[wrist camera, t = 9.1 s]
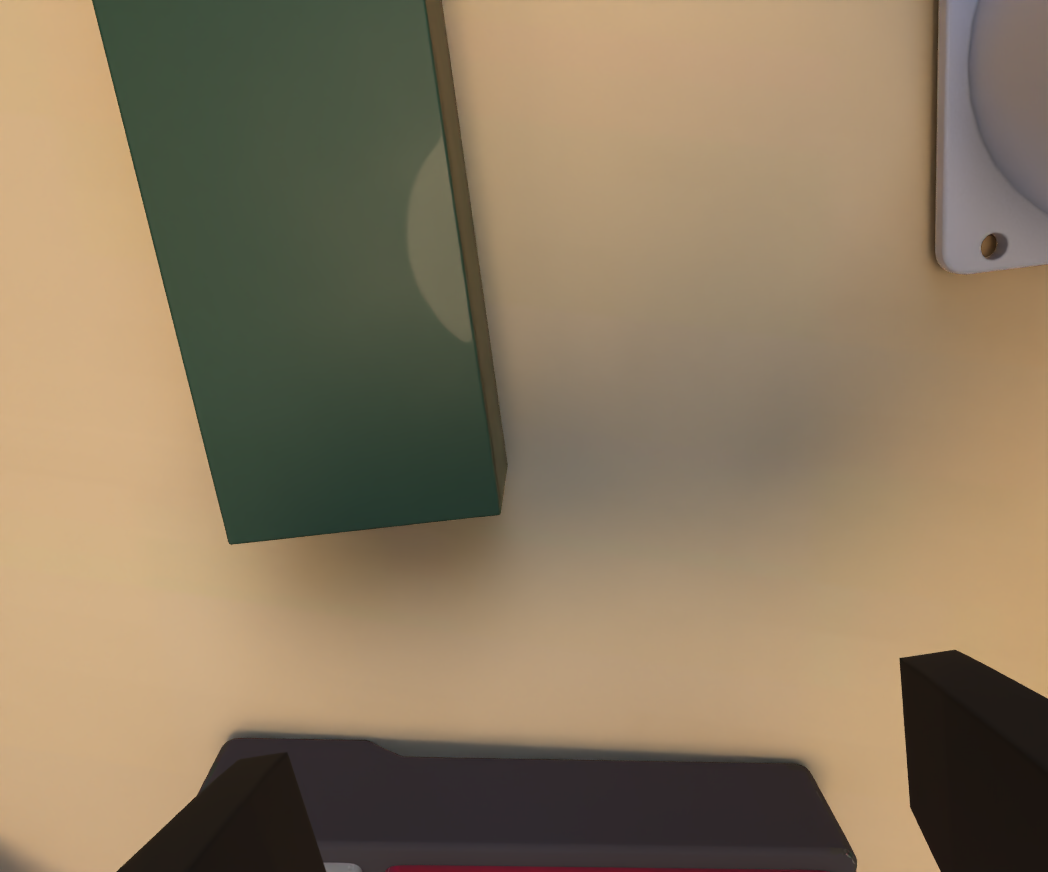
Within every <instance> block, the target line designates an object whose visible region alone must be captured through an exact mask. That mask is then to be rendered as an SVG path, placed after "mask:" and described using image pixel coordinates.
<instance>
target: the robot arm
mask: <svg viewBox="0 0 1048 872" xmlns="http://www.w3.org/2000/svg"><path fill="white" fill-rule="evenodd" d="M990 234H993V235H994V236H995V237H996V241H997V246H996V249H995V251H994V252H993V253H992V254H991V255H990V256H989V257H986V258H985V257H984V256H983V255H982V252H981V244H982V241H983V240H984V239H985V238H986V237H987V235H990ZM935 254H936V259H937V262H938V263H939V265H940V266H941V267H942V268H943V269H944V270H946V271H948V272H950V273H956V274H974V273H982V272H990V271H998V270H1006V269H1014V268H1022V267H1030V266H1038V265H1046V264H1048V0H939V16H938V84H937V152H936V221H935ZM900 671H901V685H902V699H903V713H904V726H905V740H906V754H907V768H908V782H909V796H910V808H911V810H912V812H913V814H914V816H915V818H916V820H917V823H918V825H919V827H920V829H921V831H922V833H923V835H924V837H925V840H926V842H927V844H928V846H929V848H930V850H931V852H932V854H933V856H934V859H935V861H936V863H937V865H938V867H939V869H940V871H941V872H1048V699H1047V698H1045V697H1044V696H1042V695H1040V694H1038V693H1036V692H1034V691H1033V690H1031V689H1029V688H1027V687H1025V686H1023V685H1022V684H1020V683H1018V682H1016V681H1014V680H1012V679H1010V678H1009V677H1007V676H1005V675H1003V674H1001V673H999V672H998V671H996V670H994V669H992V668H990V667H988V666H986V665H984V664H983V663H981V662H979V661H977V660H975V659H973V658H971V657H969V656H967V655H965V654H963V653H961V652H959V651H957V650H950V651H944V652H937V653H931V654H924V655H918V656H911V657H905V658H900ZM117 872H326V869H325V866H324V863H323V860H322V857H321V854H320V851H319V848H318V845H317V841H316V838H315V835H314V832H313V829H312V826H311V823H310V820H309V817H308V814H307V811H306V808H305V805H304V801H303V798H302V795H301V792H300V789H299V786H298V783H297V780H296V777H295V774H294V771H293V768H292V765H291V761H290V758H289V755H288V752H283V753H276V754H270V755H263V756H256V757H250V758H243V759H239V760H237V761H236V762H235V763H234V764H233V765H231V766H230V767H229V768H228V769H226V770H225V771H224V772H223V773H222V774H221V775H219V776H218V777H217V778H216V779H215V780H214V781H213V782H212V783H211V784H209V785H208V786H207V787H206V788H205V789H204V790H203V791H202V792H201V793H200V794H199V795H197V796H196V797H195V798H194V799H193V800H192V801H191V802H190V803H189V804H188V805H187V806H186V807H185V808H184V809H182V810H181V811H180V812H179V813H178V814H177V815H176V816H175V817H174V818H173V819H172V820H171V821H170V822H169V823H168V824H167V825H166V826H165V827H163V828H162V829H161V830H160V831H159V832H158V833H157V834H156V835H155V836H154V837H153V838H152V839H151V840H150V841H149V842H148V843H147V844H145V845H144V846H143V847H142V848H141V849H140V850H139V851H138V852H137V853H136V854H135V855H134V856H133V857H132V858H131V859H129V860H128V861H127V862H126V863H125V864H124V865H123V866H122V867H121V868H120V869H119V870H118V871H117Z"/></svg>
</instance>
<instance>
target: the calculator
mask: <svg viewBox="0 0 1048 872" xmlns="http://www.w3.org/2000/svg"><path fill="white" fill-rule="evenodd" d="M283 752H288V755H289V758H290V761H291V765H292V768H293V771H294V774H295V777H296V780H297V783H298V786H299V789H300V792H301V795H302V798H303V801H304V805H305V808H306V811H307V814H308V817H309V820H310V823H311V826H312V829H313V832H314V835H315V838H316V841H317V845H318V848H319V851H320V854H321V857H322V860H323V863H324V866H325V869H326V872H856V868H857V859H856V856H855V854H854V852H853V850H852V848H851V846H850V844H849V842H848V841H847V839H846V837H845V835H844V833H843V831H842V829H841V827H840V826H839V824H838V822H837V820H836V818H835V816H834V815H833V813H832V811H831V809H830V807H829V805H828V804H827V802H826V800H825V798H824V796H823V794H822V793H821V791H820V789H819V787H818V785H817V783H816V782H815V780H814V778H813V776H812V775H811V773H810V771H809V770H808V769H807V768H806V767H804V766H802V765H798V764H779V763H722V762H665V761H608V760H551V759H495V758H439V757H403V756H400V755H397V754H395V753H393V752H391V751H389V750H386V749H384V748H382V747H380V746H378V745H376V744H374V743H372V742H370V741H366V740H318V739H264V738H238V739H232V740H230V741H228V742H226V743H225V744H224V745H223V747H222V748H221V750H220V752H219V754H218V756H217V758H216V760H215V762H214V763H213V765H212V767H211V769H210V771H209V773H208V775H207V777H206V779H205V781H204V783H203V785H202V787H201V789H200V791H199V793H198V795H199V794H200V793H201V792H202V791H203V790H204V789H205V788H206V787H207V786H208V785H209V784H211V783H212V782H213V781H214V780H215V779H216V778H217V777H218V776H219V775H221V774H222V773H223V772H224V771H225V770H226V769H228V768H229V767H230V766H231V765H233V764H234V763H235V762H236V761H237V760H239V759H243V758H250V757H256V756H263V755H270V754H276V753H283Z"/></svg>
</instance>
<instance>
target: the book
mask: <svg viewBox="0 0 1048 872" xmlns="http://www.w3.org/2000/svg"><path fill="white" fill-rule="evenodd" d="M92 2H93V6H94V10H95V14H96V18H97V22H98V26H99V30H100V34H101V37H102V41H103V45H104V49H105V53H106V57H107V61H108V65H109V69H110V73H111V77H112V81H113V85H114V89H115V93H116V97H117V101H118V105H119V109H120V113H121V117H122V121H123V125H124V129H125V133H126V137H127V141H128V145H129V149H130V153H131V157H132V161H133V165H134V169H135V173H136V177H137V181H138V184H139V188H140V192H141V196H142V200H143V204H144V208H145V212H146V216H147V220H148V224H149V228H150V232H151V236H152V240H153V244H154V248H155V252H156V256H157V260H158V264H159V268H160V272H161V276H162V280H163V284H164V288H165V292H166V296H167V300H168V304H169V308H170V312H171V316H172V320H173V324H174V328H175V332H176V335H177V339H178V343H179V347H180V351H181V355H182V359H183V363H184V367H185V371H186V375H187V379H188V383H189V387H190V391H191V395H192V399H193V403H194V407H195V411H196V415H197V419H198V423H199V427H200V431H201V435H202V439H203V443H204V447H205V451H206V455H207V459H208V463H209V467H210V471H211V475H212V479H213V482H214V486H215V490H216V494H217V498H218V502H219V506H220V510H221V514H222V518H223V522H224V526H225V530H226V534H227V538H228V542H229V544H231V545H232V544H241V543H250V542H259V541H268V540H277V539H286V538H295V537H304V536H313V535H322V534H331V533H340V532H349V531H358V530H367V529H376V528H385V527H394V526H403V525H412V524H420V523H429V522H438V521H447V520H456V519H465V518H474V517H485V516H494V515H500V513H501V507H502V500H503V493H504V486H505V479H506V472H507V458H506V451H505V444H504V437H503V430H502V423H501V416H500V409H499V402H498V395H497V388H496V380H495V373H494V366H493V359H492V352H491V345H490V338H489V331H488V324H487V317H486V310H485V303H484V296H483V289H482V282H481V275H480V268H479V261H478V254H477V246H476V239H475V232H474V225H473V218H472V211H471V204H470V197H469V190H468V183H467V176H466V169H465V162H464V155H463V148H462V141H461V134H460V127H459V120H458V113H457V105H456V98H455V91H454V84H453V77H452V70H451V63H450V56H449V49H448V42H447V35H446V28H445V21H444V14H443V7H442V0H92Z"/></svg>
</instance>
